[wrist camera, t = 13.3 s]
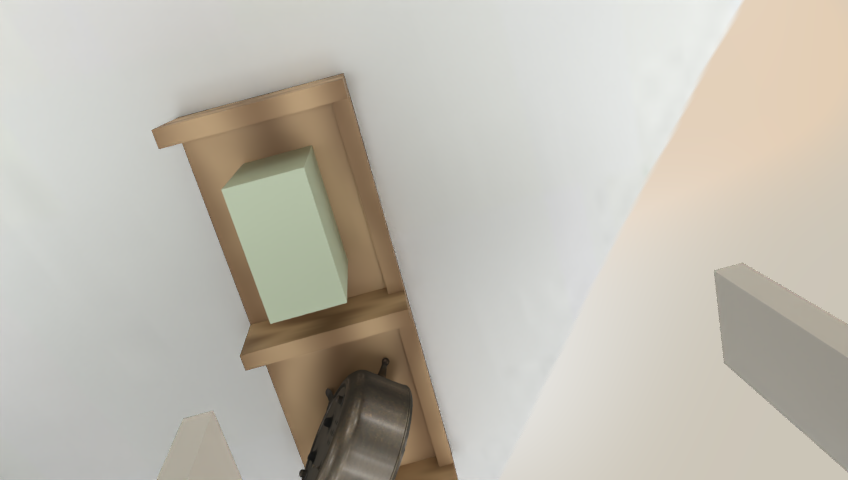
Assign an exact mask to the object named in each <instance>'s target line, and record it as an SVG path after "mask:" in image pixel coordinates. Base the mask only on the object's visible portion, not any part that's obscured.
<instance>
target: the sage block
mask: <svg viewBox="0 0 848 480" xmlns="http://www.w3.org/2000/svg"><path fill="white" fill-rule="evenodd" d="M221 191H222V193H223V196H224V199H225V202H226V204H227V207H228V210H229V212H230V215H231V218H232V221H233V223H234V226H235V229H236V232H237V234H238V237H239V240H240V242H241V245H242V248H243V251H244V253H245V256H246V259H247V262H248V264H249V267H250V270H251V272H252V275H253V278H254V281H255V283H256V286H257V289H258V292H259V294H260V297H261V300H262V302H263V305H264V308H265V311H266V313H267V316H268V319H269V322H270V324H272V323H276V322H279V321H283V320H287V319H290V318H294V317H298V316H301V315H305V314H308V313H312V312H316V311H319V310H323V309H327V308H330V307H334V306H337V305H341V304H345V303H347V280H348V259H347V256H346V253H345V250H344V247H343V243H342V240H341V237H340V234H339V231H338V227H337V224H336V221H335V218H334V214H333V211H332V208H331V205H330V202H329V198H328V195H327V192H326V189H325V186H324V182H323V179H322V176H321V173H320V170H319V166H318V163H317V160H316V157H315V153H314V150H313V147H312V145H311V146H307V147H303V148H300V149H296V150H292V151H289V152H285V153H281V154H277V155H274V156H270V157H266V158H263V159H259V160H255V161H251V162H248V163H244V164H243V165H242V166H241V167H240V168H239V169H238V170H237V172H236V173H235V174H234V175H233V176H232V178H231V179H230V180H229V181H228V182H227V183H226V185H225V186H224V187H223V188H222V189H221Z"/></svg>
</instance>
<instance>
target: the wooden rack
mask: <svg viewBox="0 0 848 480" xmlns="http://www.w3.org/2000/svg"><path fill="white" fill-rule="evenodd" d="M152 133H153V135H154V138H155V140H156V143H157V145H158V148H159V149H161V148H165V147H169V146H172V145H176V144H180V143H182V144H183V147H184V150H185V152H186V155H187V158H188V160H189V163H190V165H191V168H192V171H193V173H194V176H195V179H196V181H197V184H198V187H199V189H200V192H201V195H202V197H203V200H204V203H205V205H206V208H207V210H208V213H209V216H210V218H211V221H212V224H213V226H214V229H215V232H216V234H217V237H218V240H219V242H220V245H221V247H222V250H223V253H224V255H225V258H226V261H227V263H228V266H229V269H230V271H231V274H232V277H233V279H234V282H235V284H236V287H237V290H238V292H239V295H240V298H241V300H242V303H243V306H244V308H245V311H246V314H247V316H248V319H249V322H250V324H251V325H250V328H249V331H248V334H247V337H246V340H245V343H244V345H243V348H242V351H241V354H240V358H241V360H242V363H243V365H244V368H245V370H250V369H253V368H257V367H261V366H264V365H266V366H267V369H268V372H269V374H270V377H271V380H272V382H273V385H274V388H275V390H276V393H277V396H278V398H279V401H280V403H281V406H282V409H283V411H284V414H285V417H286V419H287V422H288V425H289V427H290V430H291V433H292V435H293V438H294V440H295V443H296V446H297V448H298V451H299V454H300V456H301V459H302V462H303V464H304V467H305V466H306V462H307V457H308V455H309V453H310V450H311V447H312V444H313V442H314V439H315V437H316V434H317V431H318V429H319V427H320V424H321V422H322V419H323V417H324V415H325V413H326V410H327V406H328V403H329V400H328V397H327V396H326V389H327V388H328V389H330V390H331V391H332V393H333V395H335V393H336V391H337V389H338V388H339V386H340V385H341V383H342V382H343V381H344V379H345V378H346V377H347V376H348V375H350V374H351V373H353V372H355V371H357V370H367V371H369V372H372V373H375V374H378V372H379V370H380V368H381V365H382V359H383V358H388V359H389V361H390V362H389V364H388V365H387V371H386V378H387V379H390V380H392V381H395V382H397V383H400V384H403V385H407V386H408V387H409V388H410V390H411V393H412V398H413V410H412V419H411V425H410V431H409V436H408V439H407V445H406V447H405V452H404V455H403V458H402V461H401V464H400V467H399V470H398V472H397V475H396V478H395V480H458V478H457V474H456V470H455V465H454V461H453V457H452V453H451V450H450V446H449V442H448V439H447V435H446V432H445V428H444V425H443V421H442V418H441V414H440V411H439V407H438V404H437V400H436V397H435V393H434V390H433V386H432V383H431V379H430V376H429V372H428V369H427V365H426V362H425V358H424V354H423V351H422V347H421V344H420V340H419V337H418V333H417V330H416V326H415V323H414V319H413V316H412V312H411V309H410V305H409V302H408V298H407V295H406V291H405V288H404V284H403V281H402V277H401V274H400V270H399V267H398V263H397V259H396V256H395V252H394V249H393V245H392V242H391V238H390V235H389V231H388V228H387V224H386V221H385V217H384V214H383V210H382V207H381V203H380V200H379V196H378V193H377V189H376V186H375V182H374V179H373V175H372V171H371V168H370V164H369V161H368V157H367V154H366V150H365V147H364V143H363V140H362V136H361V133H360V129H359V126H358V122H357V119H356V115H355V112H354V108H353V105H352V101H351V98H350V94H349V91H348V87H347V84H346V80H345V76H344V73H343V74H339V75H336V76H332V77H328V78H324V79H321V80H317V81H313V82H309V83H306V84H302V85H298V86H294V87H291V88H287V89H283V90H279V91H276V92H272V93H268V94H265V95H261V96H257V97H253V98H250V99H246V100H242V101H238V102H235V103H231V104H227V105H223V106H220V107H216V108H212V109H208V110H205V111H201V112H197V113H194V114H190V115H186V116H182V117H179V118H176V119H174V120H172V121H170V122H168V123H166V124H163V125H161V126H159V127H157V128H155V129H153V130H152ZM311 145H312V147H313V150H314V153H315V157H316V160H317V163H318V166H319V170H320V173H321V176H322V179H323V182H324V186H325V189H326V192H327V195H328V198H329V202H330V205H331V208H332V211H333V214H334V218H335V221H336V224H337V227H338V231H339V234H340V237H341V240H342V243H343V247H344V250H345V253H346V256H347V259H348V280H347V303H345V304H341V305H337V306H334V307H330V308H327V309H323V310H319V311H316V312H312V313H308V314H305V315H301V316H298V317H294V318H290V319H287V320H283V321H279V322H276V323H272V324H270V322H269V319H268V316H267V313H266V311H265V308H264V305H263V302H262V300H261V297H260V294H259V292H258V289H257V286H256V283H255V281H254V278H253V275H252V272H251V270H250V267H249V264H248V262H247V259H246V256H245V253H244V251H243V248H242V245H241V242H240V240H239V237H238V234H237V232H236V229H235V226H234V223H233V221H232V218H231V215H230V212H229V210H228V207H227V204H226V202H225V199H224V196H223V193H222V191H221V189H222V188H223V187H224V186H225V185H226V183H227V182H228V181H229V180H230V179H231V178H232V176H233V175H234V174H235V173H236V172H237V170H238V169H239V168H240V167H241V166H242V165H243V164H244V163H248V162H251V161H255V160H259V159H263V158H266V157H270V156H274V155H277V154H281V153H285V152H289V151H292V150H296V149H300V148H303V147H307V146H311Z"/></svg>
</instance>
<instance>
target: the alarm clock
mask: <svg viewBox="0 0 848 480" xmlns="http://www.w3.org/2000/svg"><path fill="white" fill-rule="evenodd" d="M389 362H390V361H389V359H388V358H383V359H382V365H381V368H380V370H379V372H378V374H375V373H372V372H369V371H367V370H357V371H355V372H353V373H351V374H350V375H348V376H347V377H346V378H345V379H344V381H343V382H342V383H341V385H340V386H339V388H338V389H337V391H336V393H335V395H333V393H332V391H331V390H330V389H328V388H327V389H326V396H327V397H328V400H329V403H328V406H327V410H326V413H325V415H324V417H323V419H322V422H321V424H320V427H319V429H318V431H317V434H316V437H315V439H314V442H313V444H312V447H311V450H310V453H309V455H308V457H307V462H306V466H305V469H304V470H303V469H302V470H300V473H299V475H300V477H302V480H395V478H396V475H397V472H398V470H399V467H400V464H401V461H402V458H403V455H404V452H405V447H406V445H407V439H408V436H409V431H410V425H411V419H412V410H413V398H412V393H411V390H410V388H409V387H408V386H407V385H403V384H400V383H397V382H395V381H392V380H390V379H387V378H386V371H387V365H388V364H389Z"/></svg>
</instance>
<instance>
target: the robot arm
mask: <svg viewBox="0 0 848 480" xmlns="http://www.w3.org/2000/svg"><path fill="white" fill-rule="evenodd" d="M714 276H715V285H716V294H717V303H718V312H719V322H720V331H721V340H722V348H723V358H724V363H725V364H726V365H727V366H728V367H729V368H730V369H731V370H733V371H734V372H735V373H736V374H737V375H738V376H739V377H740V378H742V379H743V380H744V381H745V382H746V383H747V384H748V385H749V386H751V387H752V388H753V389H754V390H755V391H756V392H757V393H759V394H760V395H761V396H762V397H763V398H764V399H765V400H766V401H768V402H769V403H770V404H771V405H772V406H773V407H774V408H776V409H777V410H778V411H779V412H780V413H781V414H782V415H783V416H785V417H786V418H787V419H788V420H789V421H790V422H791V423H793V424H794V425H795V426H796V427H797V428H798V429H799V430H800V431H802V432H803V433H804V434H805V435H806V436H807V437H809V438H810V439H811V440H812V441H813V442H814V443H815V444H816V445H817V446H819V447H820V448H821V449H822V450H823V451H824V452H826V453H827V454H828V455H829V456H830V457H831V458H832V459H833V460H835V461H836V462H837V463H838V464H839V465H840V466H841V467H843V468H844V469H845V470H846V471H847V472H848V324H847V323H845V322H843V321H842V320H840V319H838V318H837V317H835V316H833V315H831V314H830V313H828V312H826V311H825V310H823V309H821V308H819V307H818V306H816V305H814V304H813V303H811V302H809V301H807V300H806V299H804V298H802V297H801V296H799V295H797V294H795V293H794V292H792V291H790V290H789V289H787V288H785V287H783V286H782V285H780V284H778V283H777V282H775V281H773V280H771V279H770V278H768V277H766V276H764V275H763V274H761V273H759V272H758V271H756V270H754V269H752V268H751V267H749V266H747V265H746V264H744V263H740V264H736V265H732V266H729V267H725V268H722V269H718V270H714ZM157 480H242V478H241V476H240V473H239V471H238V468H237V466H236V464H235V461H234V459H233V456H232V454H231V452H230V449H229V447H228V445H227V442H226V440H225V437H224V435H223V433H222V430H221V428H220V426H219V423H218V421H217V418H216V416H215V414H214V411H209V412H205V413H202V414H198V415H195V416H191V417H187V418H184V419H183V420H182V423H181V425H180V427H179V430H178V432H177V434H176V436H175V439H174V441H173V443H172V445H171V448H170V450H169V452H168V455H167V457H166V459H165V461H164V464H163V466H162V468H161V471H160V473H159V475H158V477H157Z"/></svg>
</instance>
